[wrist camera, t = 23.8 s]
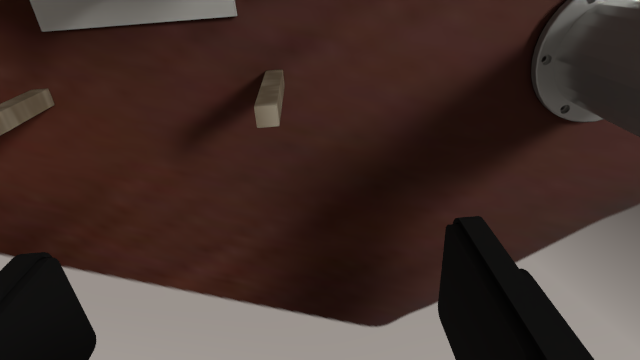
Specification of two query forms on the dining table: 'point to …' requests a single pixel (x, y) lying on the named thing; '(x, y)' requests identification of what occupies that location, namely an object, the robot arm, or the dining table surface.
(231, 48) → the dining table surface
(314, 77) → the dining table surface
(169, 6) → the rubber mat
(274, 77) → the beige wooden bar
